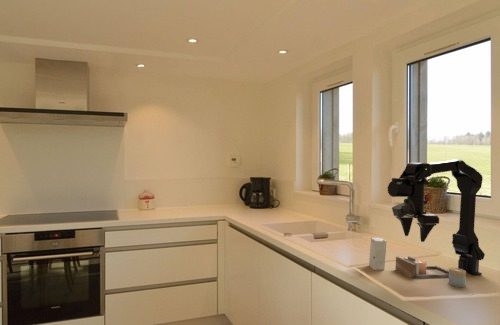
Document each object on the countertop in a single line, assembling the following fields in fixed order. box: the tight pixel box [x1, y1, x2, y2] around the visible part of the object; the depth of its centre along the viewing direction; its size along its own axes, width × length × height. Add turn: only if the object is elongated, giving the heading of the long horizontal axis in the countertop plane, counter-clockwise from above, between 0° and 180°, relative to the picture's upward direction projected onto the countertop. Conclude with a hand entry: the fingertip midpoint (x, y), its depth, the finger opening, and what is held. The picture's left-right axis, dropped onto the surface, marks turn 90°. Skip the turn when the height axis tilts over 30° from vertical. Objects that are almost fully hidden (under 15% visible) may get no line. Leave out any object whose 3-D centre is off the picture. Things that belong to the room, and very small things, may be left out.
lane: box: [395, 256, 449, 280], centre depth 132 cm, size 18×10×6 cm, turn 102°
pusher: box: [403, 256, 419, 275], centre depth 131 cm, size 1×7×6 cm, turn 12°
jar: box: [415, 258, 428, 275], centre depth 132 cm, size 5×5×4 cm
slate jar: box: [448, 267, 467, 288], centre depth 121 cm, size 5×5×6 cm
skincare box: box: [368, 237, 387, 271], centre depth 137 cm, size 6×4×12 cm
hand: (414, 238), depth 131 cm, fingers open, 9 cm apart
